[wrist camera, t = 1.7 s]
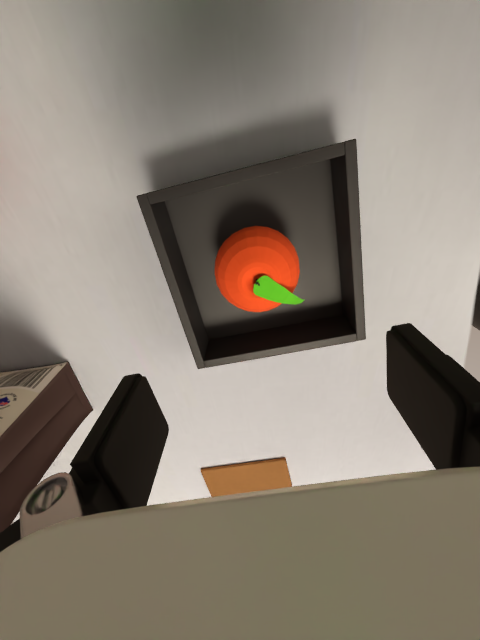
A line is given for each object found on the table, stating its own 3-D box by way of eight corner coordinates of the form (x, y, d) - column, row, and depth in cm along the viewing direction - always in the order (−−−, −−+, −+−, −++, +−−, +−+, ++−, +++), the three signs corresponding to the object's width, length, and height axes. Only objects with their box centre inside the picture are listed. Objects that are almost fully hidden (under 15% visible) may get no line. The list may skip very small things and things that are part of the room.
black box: (336, 145, 23) (356, 138, 19) (349, 316, 30) (366, 339, 26) (155, 192, 25) (135, 195, 21) (204, 343, 32) (197, 369, 28)
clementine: (318, 249, 26) (340, 272, 20) (278, 310, 29) (286, 348, 23) (240, 204, 25) (237, 214, 18) (206, 274, 28) (193, 303, 21)
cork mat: (285, 457, 40) (285, 460, 39) (291, 485, 42) (292, 487, 42) (201, 468, 41) (200, 471, 41) (212, 494, 44) (212, 497, 43)
